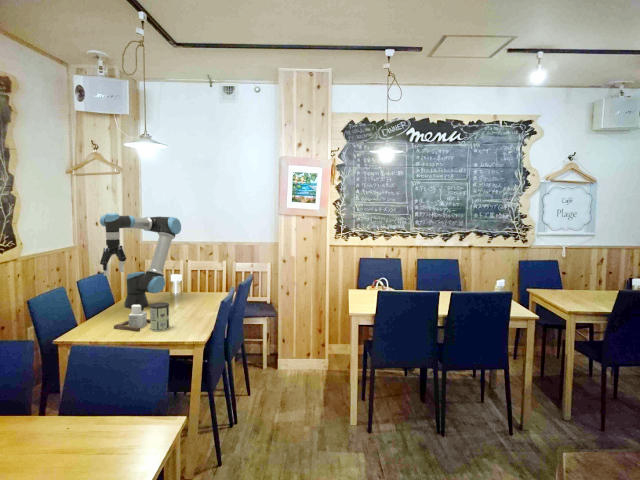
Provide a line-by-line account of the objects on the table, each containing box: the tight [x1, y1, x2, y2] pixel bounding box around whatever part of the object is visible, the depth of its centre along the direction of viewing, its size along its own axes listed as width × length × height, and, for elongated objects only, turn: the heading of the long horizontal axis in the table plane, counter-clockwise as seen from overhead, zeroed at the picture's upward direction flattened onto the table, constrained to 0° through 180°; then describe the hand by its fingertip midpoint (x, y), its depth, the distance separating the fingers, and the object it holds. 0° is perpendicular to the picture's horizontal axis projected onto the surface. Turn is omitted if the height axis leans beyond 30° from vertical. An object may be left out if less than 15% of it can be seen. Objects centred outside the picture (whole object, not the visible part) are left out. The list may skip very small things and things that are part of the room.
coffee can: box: [149, 302, 170, 332], centre depth 260 cm, size 10×10×14 cm
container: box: [128, 303, 148, 329], centre depth 264 cm, size 8×8×13 cm
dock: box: [113, 318, 150, 333], centre depth 265 cm, size 18×16×2 cm
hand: (114, 273), depth 275 cm, fingers open, 13 cm apart
